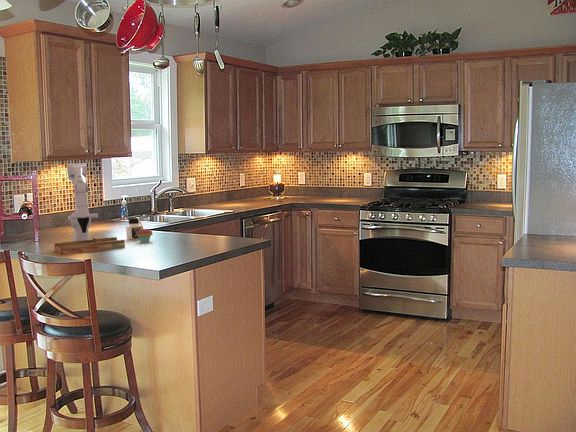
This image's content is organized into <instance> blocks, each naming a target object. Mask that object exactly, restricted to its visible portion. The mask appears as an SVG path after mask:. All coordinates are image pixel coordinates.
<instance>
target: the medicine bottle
mask: <svg viewBox="0 0 576 432" xmlns="http://www.w3.org/2000/svg"><path fill="white" fill-rule="evenodd" d="M140 222H141V221H140V218H139V217H137V216H136V217H135V216H134V217H129V218H128V225H127V226H125V231H126V239H128V240H131V241H133V240H139V237H138V236H137V235H136V233H137V232H138V231H139V230H141V225H140ZM142 229H144V226H143V225H142Z"/></svg>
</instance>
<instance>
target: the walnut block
mask: <svg viewBox="0 0 576 432" xmlns="http://www.w3.org/2000/svg"><path fill="white" fill-rule="evenodd" d="M108 238H109V237H107V236H105V235H103V236H94V237H92V239H93V243H97V242H106V241H108Z"/></svg>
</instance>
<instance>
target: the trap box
mask: <svg viewBox="0 0 576 432" xmlns="http://www.w3.org/2000/svg"><path fill="white" fill-rule="evenodd" d="M107 238H108V241H106V242H97V243H93V238H92V239H89V240H82V241H74V240H73V241H64V242H55V243H54V244H53V245H54V252H56V253H58V254H59V255H61V256H63V255H70V254H77V253H78V254H80V253H86V252H97V251H106V250H114V249H123V248H126V247H125V246H126V243H125V242H126V241H125V239H118V238H117V236H110V237H107Z"/></svg>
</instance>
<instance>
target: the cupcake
mask: <svg viewBox="0 0 576 432" xmlns="http://www.w3.org/2000/svg"><path fill="white" fill-rule="evenodd" d="M140 226H141V230H139V231H138V232H137V233H136V235H137V236H138V237H139V239H138V240H139V242H140V243H149V242H150V239H151V236H153V232H152V230H151V229H149V228H143V229H142V226H143V225H142V221H140Z"/></svg>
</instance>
